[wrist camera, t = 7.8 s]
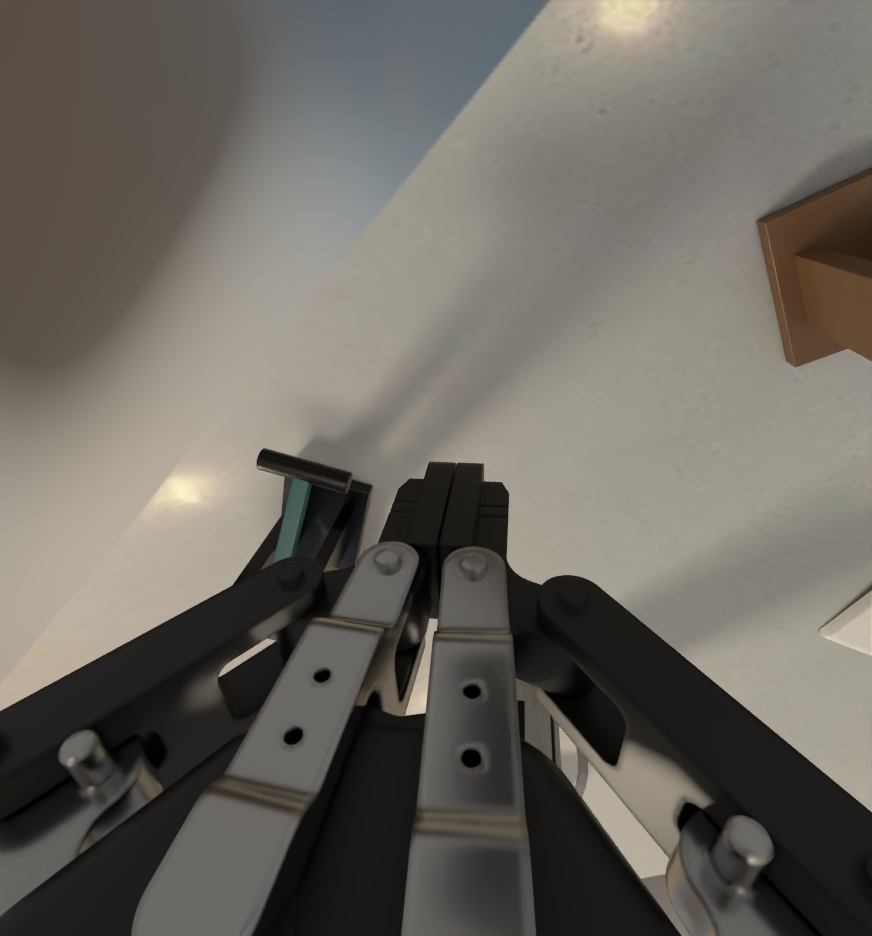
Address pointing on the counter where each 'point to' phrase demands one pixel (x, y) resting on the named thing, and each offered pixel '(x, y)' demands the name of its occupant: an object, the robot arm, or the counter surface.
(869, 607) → the light switch
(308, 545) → the far bracket
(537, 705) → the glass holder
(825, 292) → the near bracket
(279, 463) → the lever
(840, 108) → the counter surface
